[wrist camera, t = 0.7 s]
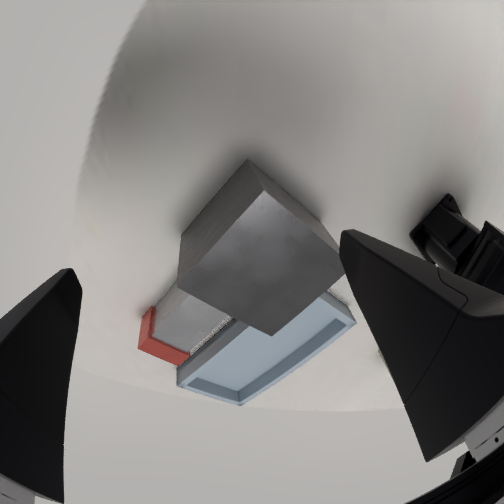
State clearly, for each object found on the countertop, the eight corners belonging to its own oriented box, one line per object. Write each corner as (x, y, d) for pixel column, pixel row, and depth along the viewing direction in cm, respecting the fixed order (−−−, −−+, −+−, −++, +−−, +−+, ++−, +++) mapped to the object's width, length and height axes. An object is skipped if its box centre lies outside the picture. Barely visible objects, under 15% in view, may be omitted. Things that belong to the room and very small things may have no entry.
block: (321, 222, 25) (352, 266, 19) (257, 284, 27) (271, 336, 22) (247, 158, 21) (264, 190, 16) (181, 235, 23) (176, 287, 18)
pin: (280, 233, 25) (293, 261, 22) (178, 335, 30) (178, 365, 26) (240, 203, 23) (247, 228, 20) (142, 317, 28) (137, 348, 24)
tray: (348, 307, 31) (356, 323, 29) (238, 390, 37) (240, 406, 35) (290, 265, 27) (298, 282, 25) (176, 368, 33) (176, 386, 31)
